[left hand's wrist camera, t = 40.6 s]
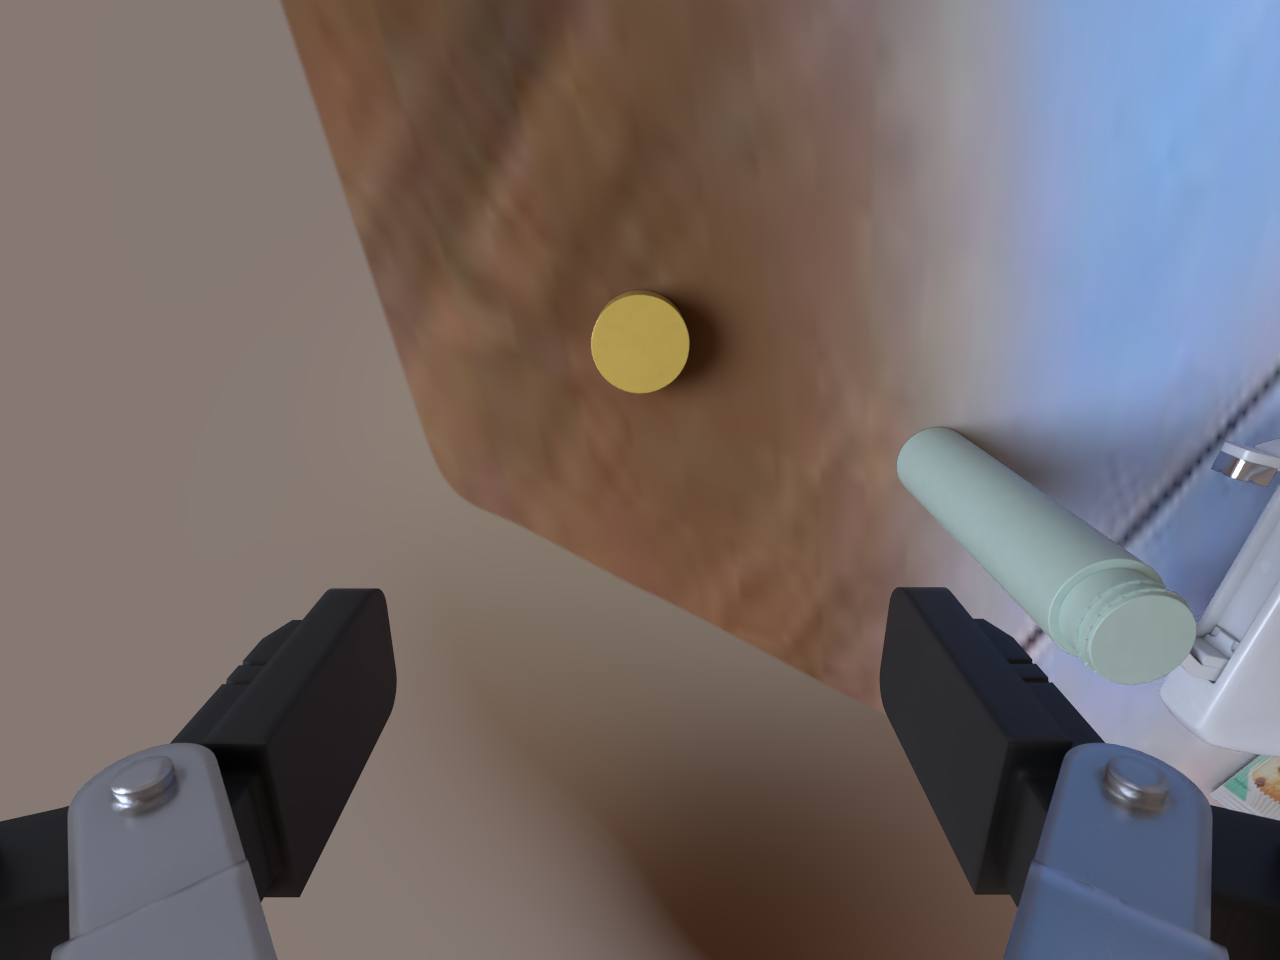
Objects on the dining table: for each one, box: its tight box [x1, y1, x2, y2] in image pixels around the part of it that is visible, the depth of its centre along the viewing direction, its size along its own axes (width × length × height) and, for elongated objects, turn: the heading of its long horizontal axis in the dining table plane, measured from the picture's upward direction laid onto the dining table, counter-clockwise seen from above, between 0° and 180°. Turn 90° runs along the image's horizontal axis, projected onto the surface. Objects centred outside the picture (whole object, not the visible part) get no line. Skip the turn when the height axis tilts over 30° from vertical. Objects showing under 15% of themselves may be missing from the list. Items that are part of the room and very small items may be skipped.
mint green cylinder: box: [897, 427, 1197, 685], centre depth 33 cm, size 4×4×18 cm
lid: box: [591, 290, 690, 393], centre depth 38 cm, size 5×5×2 cm
